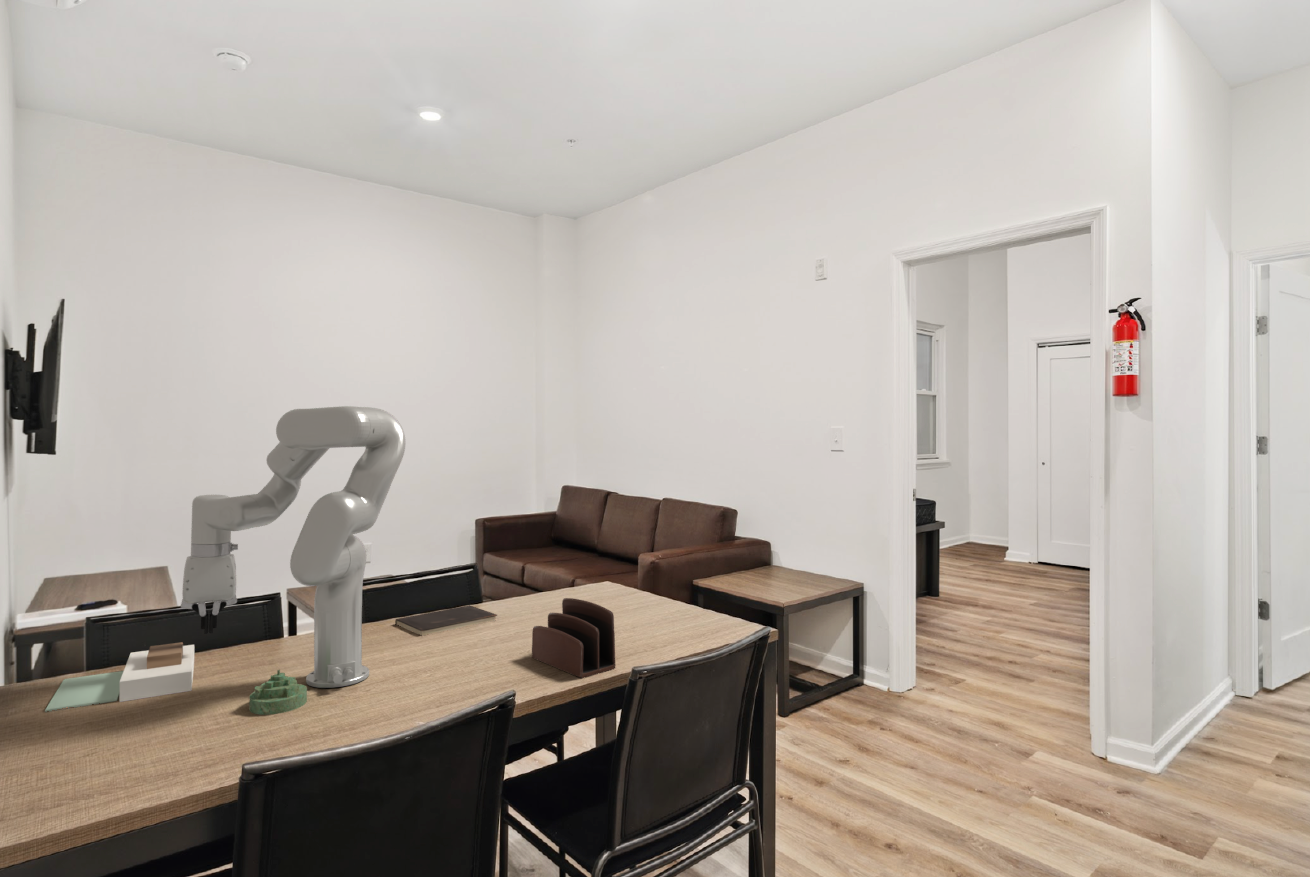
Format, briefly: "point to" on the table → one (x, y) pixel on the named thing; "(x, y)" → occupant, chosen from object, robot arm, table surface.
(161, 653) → the walnut tile
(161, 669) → the block
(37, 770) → the table surface
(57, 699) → the mat
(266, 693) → the decorative artifact
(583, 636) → the letter holder
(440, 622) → the hardcover book
